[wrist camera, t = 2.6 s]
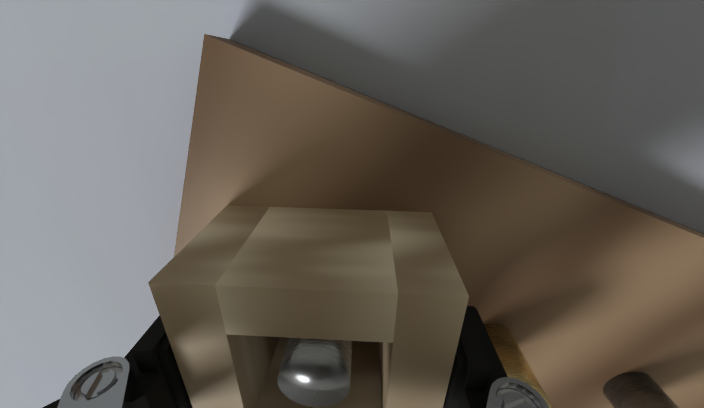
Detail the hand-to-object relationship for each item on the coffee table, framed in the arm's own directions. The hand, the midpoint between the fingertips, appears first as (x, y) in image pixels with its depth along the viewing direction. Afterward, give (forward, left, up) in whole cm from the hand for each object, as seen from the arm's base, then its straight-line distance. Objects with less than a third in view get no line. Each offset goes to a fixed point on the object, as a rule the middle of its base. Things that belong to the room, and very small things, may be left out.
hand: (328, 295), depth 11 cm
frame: (0, 0, 0) cm, 0 cm away
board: (-7, 0, -2) cm, 7 cm away
